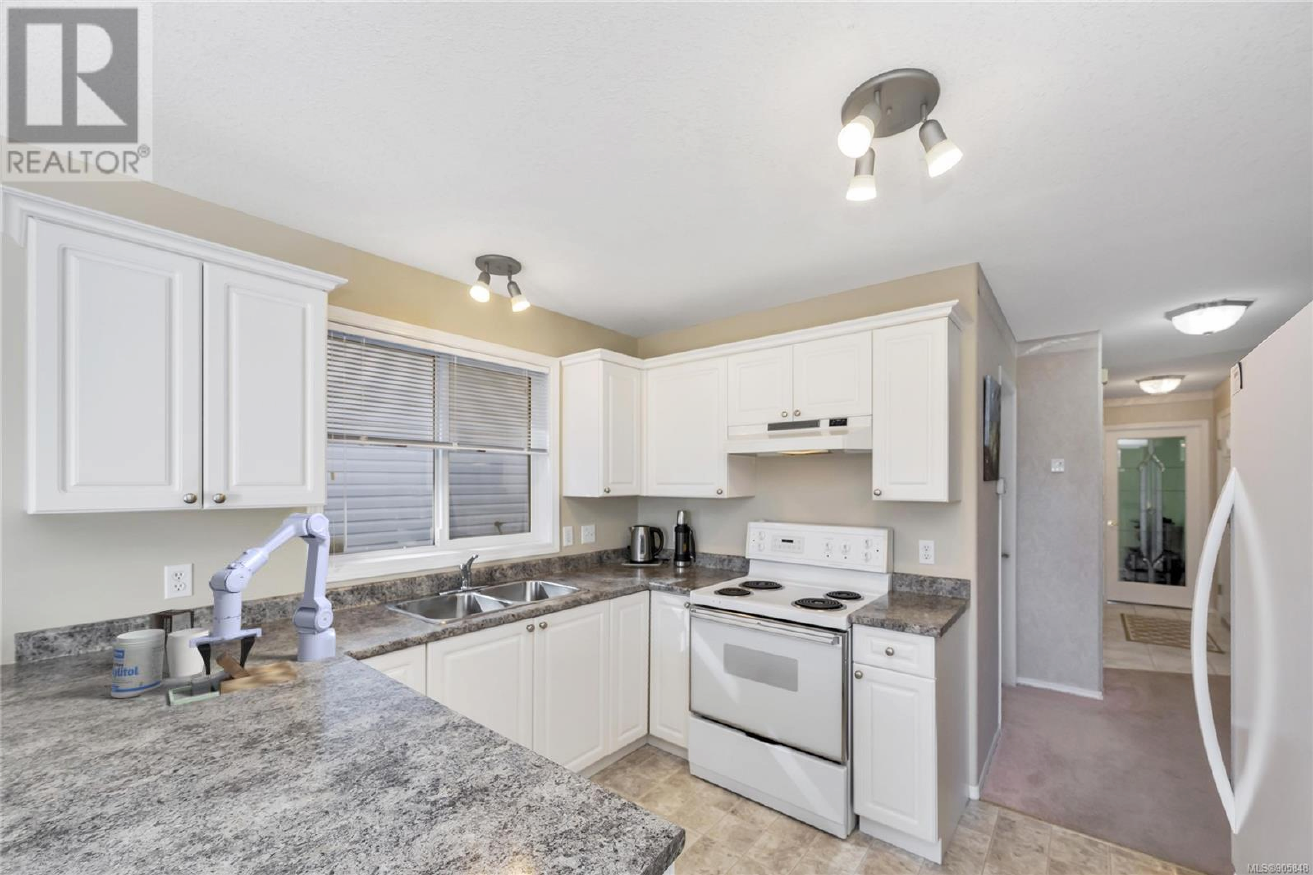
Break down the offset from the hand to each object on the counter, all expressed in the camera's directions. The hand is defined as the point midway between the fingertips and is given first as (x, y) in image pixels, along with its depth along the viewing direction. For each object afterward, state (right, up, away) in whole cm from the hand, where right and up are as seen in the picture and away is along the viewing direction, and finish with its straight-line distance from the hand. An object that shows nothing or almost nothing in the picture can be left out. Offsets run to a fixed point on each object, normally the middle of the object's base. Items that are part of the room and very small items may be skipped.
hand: (225, 670), depth 143 cm
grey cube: (0, -4, 0) cm, 4 cm away
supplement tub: (-23, -6, 0) cm, 23 cm away
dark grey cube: (-4, -5, -3) cm, 7 cm away
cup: (-20, -7, +11) cm, 23 cm away
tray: (-4, -5, -4) cm, 8 cm away
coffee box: (-30, -7, +18) cm, 36 cm away
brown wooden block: (+4, -4, +3) cm, 6 cm away
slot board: (+5, -6, +4) cm, 9 cm away
